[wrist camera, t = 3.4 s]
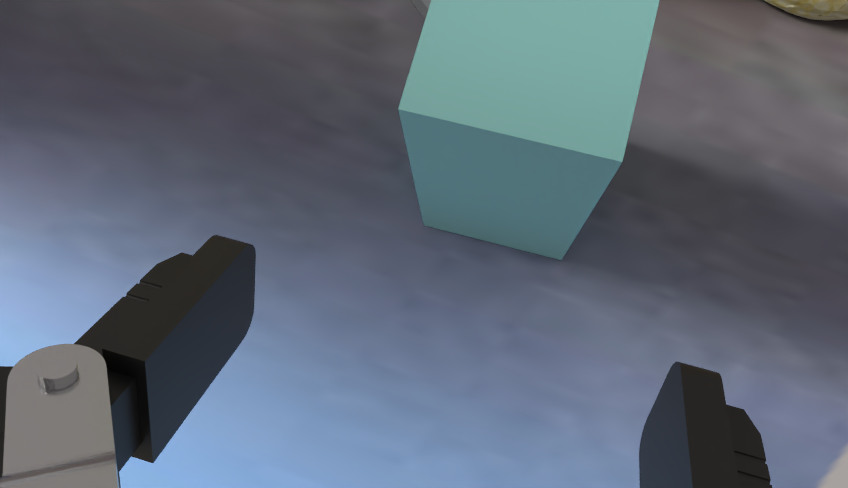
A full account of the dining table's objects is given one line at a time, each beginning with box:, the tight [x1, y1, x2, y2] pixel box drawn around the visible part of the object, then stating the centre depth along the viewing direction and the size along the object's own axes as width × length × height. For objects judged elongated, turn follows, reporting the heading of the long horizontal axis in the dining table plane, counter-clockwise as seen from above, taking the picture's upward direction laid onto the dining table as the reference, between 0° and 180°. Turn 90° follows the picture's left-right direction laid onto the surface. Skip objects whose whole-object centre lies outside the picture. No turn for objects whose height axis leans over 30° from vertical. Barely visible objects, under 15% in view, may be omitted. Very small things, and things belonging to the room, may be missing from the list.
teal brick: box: [398, 0, 659, 260], centre depth 21 cm, size 5×5×10 cm
